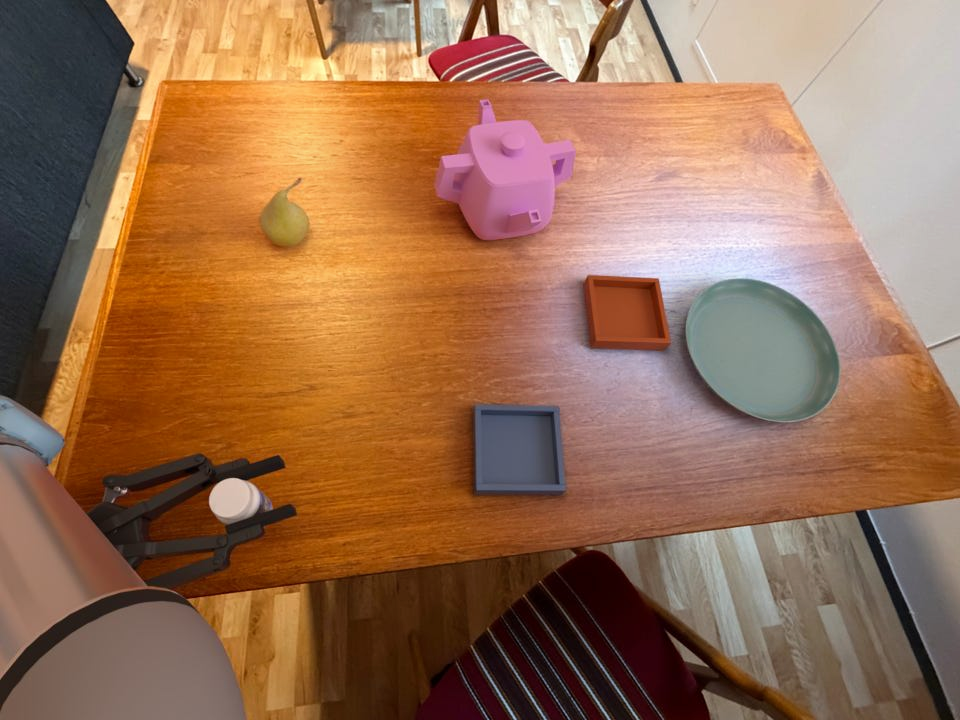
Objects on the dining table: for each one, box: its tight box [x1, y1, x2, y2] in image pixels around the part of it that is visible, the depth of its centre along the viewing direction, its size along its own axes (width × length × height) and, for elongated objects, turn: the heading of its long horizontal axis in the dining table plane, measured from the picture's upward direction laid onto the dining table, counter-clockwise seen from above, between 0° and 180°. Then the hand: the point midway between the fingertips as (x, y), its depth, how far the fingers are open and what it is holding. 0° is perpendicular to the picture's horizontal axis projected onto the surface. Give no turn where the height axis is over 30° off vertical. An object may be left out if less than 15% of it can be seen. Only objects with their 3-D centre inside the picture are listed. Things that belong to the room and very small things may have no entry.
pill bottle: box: [208, 478, 274, 528], centre depth 59 cm, size 5×5×8 cm
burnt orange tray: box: [582, 274, 672, 352], centre depth 85 cm, size 12×12×3 cm
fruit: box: [259, 177, 310, 248], centre depth 80 cm, size 7×8×12 cm
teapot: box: [433, 99, 577, 241], centre depth 86 cm, size 19×18×15 cm
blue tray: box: [472, 403, 567, 496], centre depth 73 cm, size 12×12×3 cm
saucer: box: [685, 277, 841, 423], centre depth 84 cm, size 24×24×3 cm
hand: (287, 485), depth 59 cm, fingers closed on pill bottle, 5 cm apart
